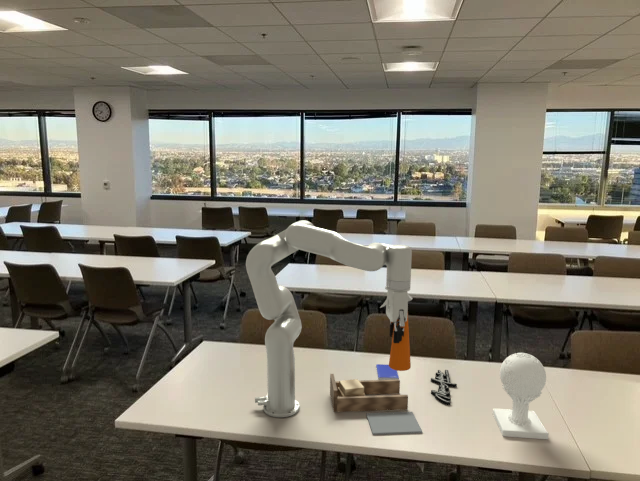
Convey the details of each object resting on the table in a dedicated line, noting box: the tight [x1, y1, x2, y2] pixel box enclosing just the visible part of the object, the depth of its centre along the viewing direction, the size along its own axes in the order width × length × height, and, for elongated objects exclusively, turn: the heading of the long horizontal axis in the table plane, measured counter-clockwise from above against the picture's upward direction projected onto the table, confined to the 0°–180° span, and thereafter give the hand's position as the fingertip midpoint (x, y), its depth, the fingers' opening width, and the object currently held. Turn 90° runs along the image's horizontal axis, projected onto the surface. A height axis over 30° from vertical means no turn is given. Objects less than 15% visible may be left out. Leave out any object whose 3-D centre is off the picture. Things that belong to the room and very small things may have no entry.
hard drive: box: [375, 363, 400, 380], centre depth 194 cm, size 2×8×12 cm
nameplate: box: [430, 369, 458, 406], centre depth 181 cm, size 27×2×10 cm
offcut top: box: [338, 378, 364, 396], centre depth 169 cm, size 7×7×2 cm
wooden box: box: [329, 373, 409, 413], centre depth 170 cm, size 26×13×8 cm, turn 94°
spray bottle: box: [379, 286, 413, 372], centre depth 151 cm, size 7×11×26 cm, turn 65°
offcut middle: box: [338, 387, 366, 397], centre depth 169 cm, size 8×7×2 cm
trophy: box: [492, 352, 549, 440], centre depth 153 cm, size 14×14×25 cm
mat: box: [365, 411, 423, 436], centre depth 156 cm, size 16×12×1 cm
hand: (396, 338), depth 151 cm, fingers closed on spray bottle, 4 cm apart
